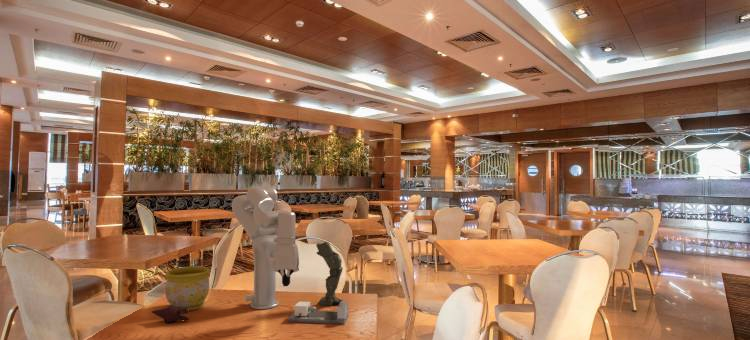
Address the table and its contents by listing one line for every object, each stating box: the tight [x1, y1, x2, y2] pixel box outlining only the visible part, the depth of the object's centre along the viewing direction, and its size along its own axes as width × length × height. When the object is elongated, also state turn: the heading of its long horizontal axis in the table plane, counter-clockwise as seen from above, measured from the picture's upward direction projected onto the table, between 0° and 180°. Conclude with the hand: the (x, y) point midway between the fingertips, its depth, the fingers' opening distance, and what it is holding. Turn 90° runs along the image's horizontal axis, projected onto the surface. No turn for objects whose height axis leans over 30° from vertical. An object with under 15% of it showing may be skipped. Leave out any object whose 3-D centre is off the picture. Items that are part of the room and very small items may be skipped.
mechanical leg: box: [315, 240, 344, 307], centre depth 180 cm, size 14×7×30 cm, turn 84°
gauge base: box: [287, 300, 350, 325], centre depth 160 cm, size 23×10×6 cm, turn 84°
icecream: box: [151, 304, 189, 323], centre depth 155 cm, size 7×7×15 cm
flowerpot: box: [164, 265, 211, 311], centre depth 173 cm, size 18×18×16 cm
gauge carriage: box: [294, 301, 317, 316], centre depth 160 cm, size 8×8×4 cm
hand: (286, 285), depth 161 cm, fingers closed
